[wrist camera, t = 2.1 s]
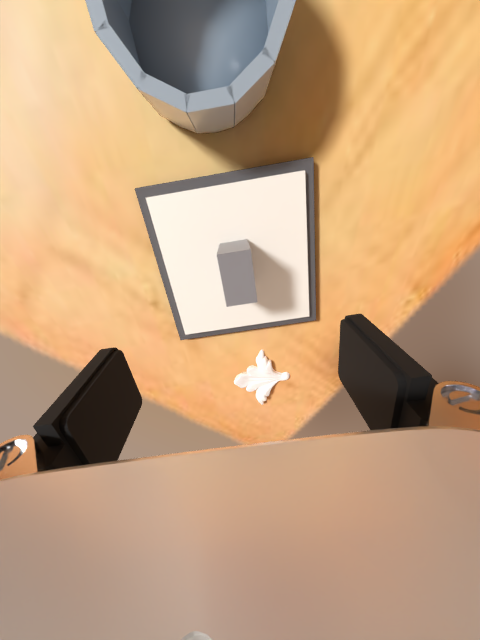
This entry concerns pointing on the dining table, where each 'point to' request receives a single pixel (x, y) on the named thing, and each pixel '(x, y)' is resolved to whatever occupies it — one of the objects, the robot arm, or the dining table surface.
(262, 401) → the acanthus leaf ornament
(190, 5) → the bowl
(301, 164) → the mat
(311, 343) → the dining table surface
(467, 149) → the dining table surface
